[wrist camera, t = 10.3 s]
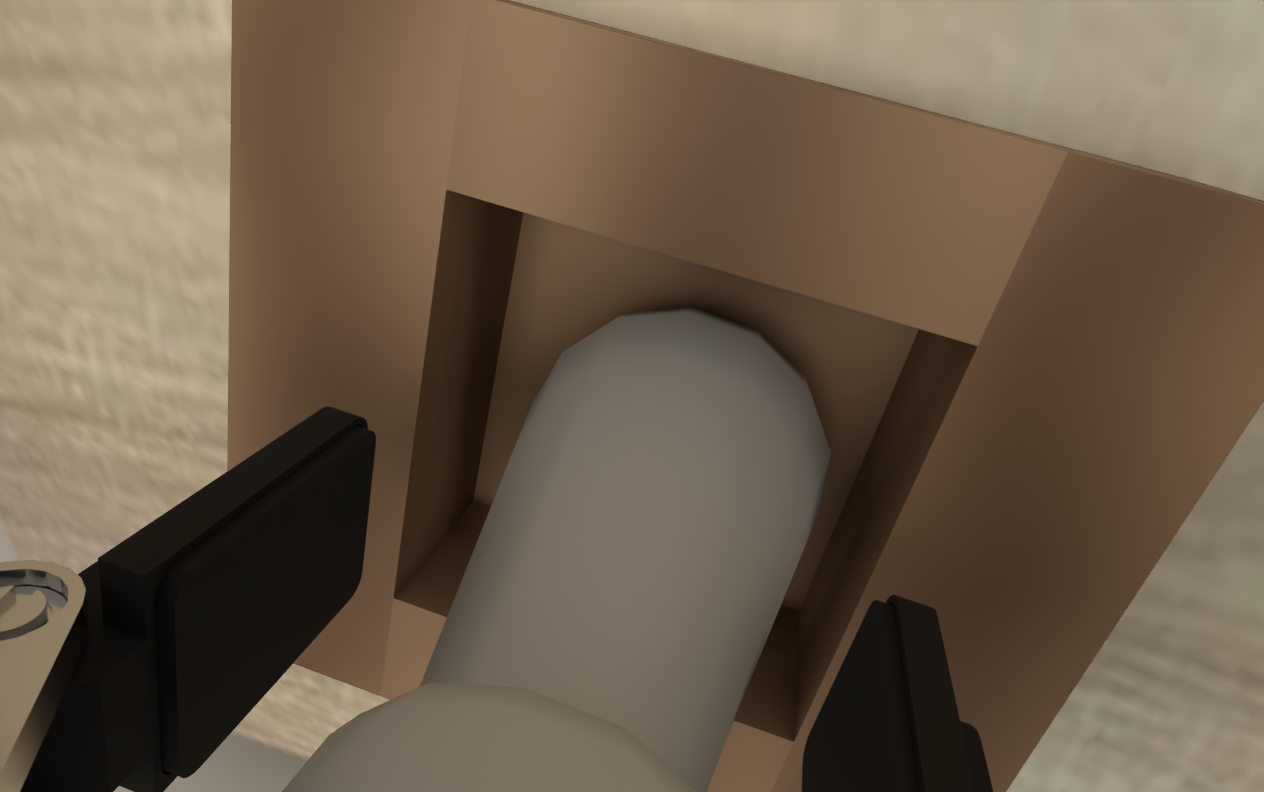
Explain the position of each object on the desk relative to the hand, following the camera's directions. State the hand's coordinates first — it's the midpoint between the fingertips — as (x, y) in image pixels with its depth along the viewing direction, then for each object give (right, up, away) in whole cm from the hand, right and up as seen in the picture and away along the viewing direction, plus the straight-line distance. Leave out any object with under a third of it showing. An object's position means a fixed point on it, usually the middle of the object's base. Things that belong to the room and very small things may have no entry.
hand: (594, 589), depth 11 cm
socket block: (+2, +3, +7) cm, 8 cm away
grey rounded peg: (+2, +3, +6) cm, 7 cm away
